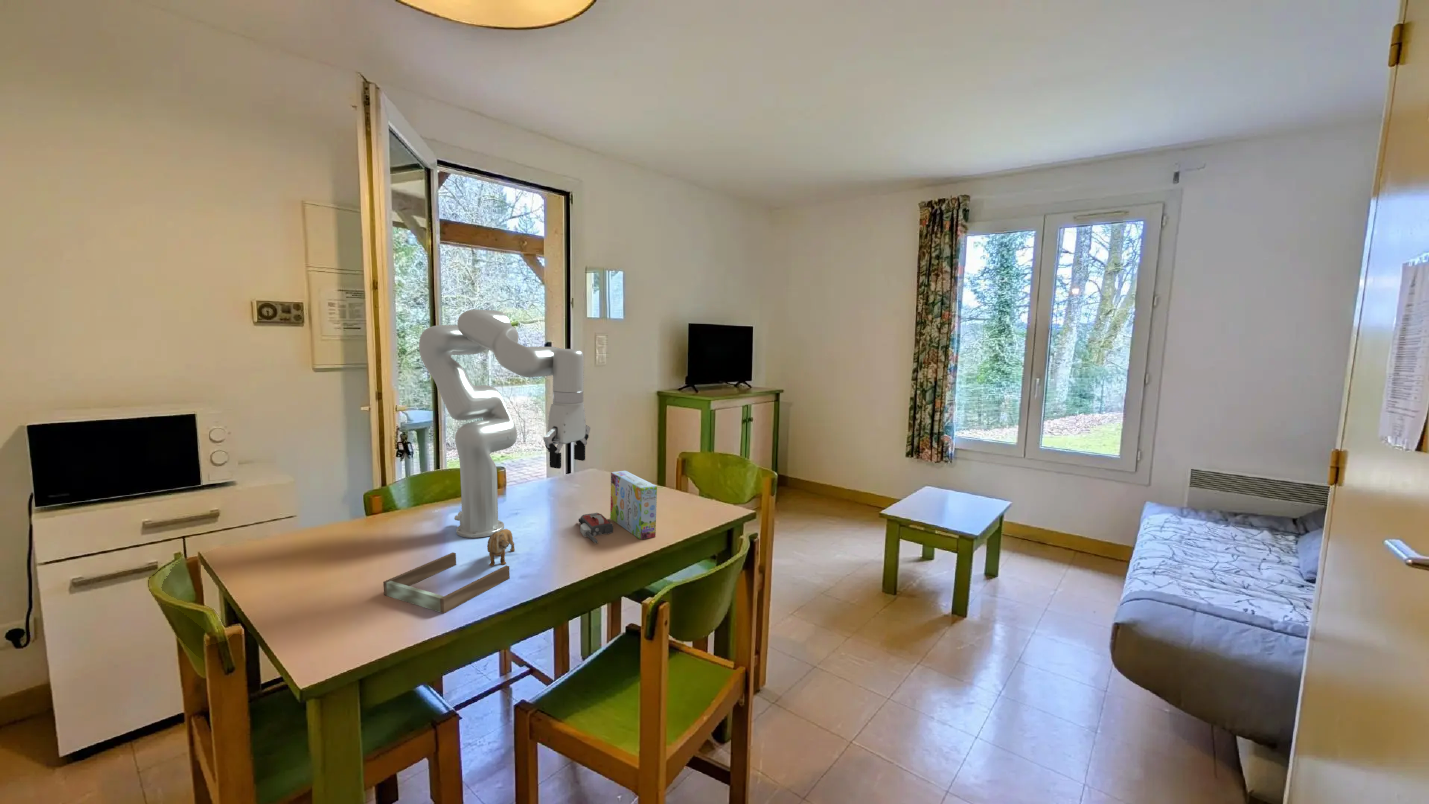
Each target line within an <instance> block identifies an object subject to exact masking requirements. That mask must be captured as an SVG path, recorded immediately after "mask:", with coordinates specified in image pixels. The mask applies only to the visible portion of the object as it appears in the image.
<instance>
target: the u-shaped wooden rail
mask: <svg viewBox="0 0 1429 804" xmlns="http://www.w3.org/2000/svg"><path fill="white" fill-rule="evenodd" d="M455 566H457V553H456V552H451V553H448V554H446V555H443V556H441V557H438V558H436V559H433V560H431V561H430V562H427V563H424V564H422V565H419V566H417V567H415V568H413V569H410V570H408V571H406V572H402V573H400V574H399V575H396V576H393V577H392V578H389V579H386V580H384V581H383V596H386V597H390V598H393V599H395V600H400V601H402V602H404V603H410V604H413V605H416V606H419V607H422V608H424V609H425V608H426V609H429V610H432V611H435V612H437V613H442V614H446V613H448V612H450V611H451V610H453V609H455V608H457V607H459V606H460V605H463V604H464V603H466V602H468V601H470V600H472V599H474V598H476V597H477V596H480V595H481V594H483V593H485V592H488V591H489V590H491V589H493V588H494V587H496V586H498V585H501V583H505V582H506V581H508V580H510V572H511V571H510V565H506V564H505V565H504V566H502V567H500V568H497V569H496V570H493V571H491V572H490V573H488V574H486V575H484V576H482V577H480V578H478V579H476V580H474V581H472V582H469V583H468V584H466V585H464V586H462V587H460V588H458V589H456V590H454V591H452V592H450V593H448V594H446V595H442V594H437V593H434V592H431V591H428V590H424V589H421V588H417V587H413V586H412V585H415V584H417V583H419V582H421V581H423V580H426V579H428V578H430V577H433V576H434V575H437V574H439V573H441V572H444V571H446V570H448V569H450V568H453V567H455Z"/></svg>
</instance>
